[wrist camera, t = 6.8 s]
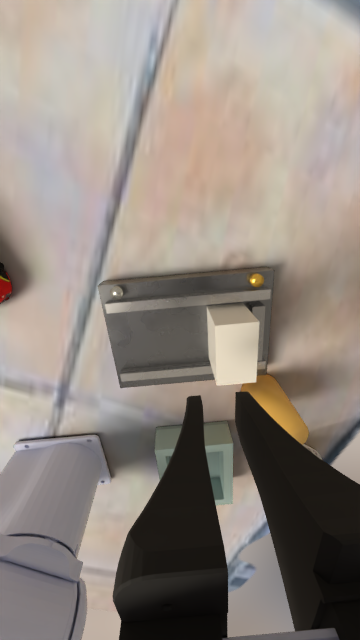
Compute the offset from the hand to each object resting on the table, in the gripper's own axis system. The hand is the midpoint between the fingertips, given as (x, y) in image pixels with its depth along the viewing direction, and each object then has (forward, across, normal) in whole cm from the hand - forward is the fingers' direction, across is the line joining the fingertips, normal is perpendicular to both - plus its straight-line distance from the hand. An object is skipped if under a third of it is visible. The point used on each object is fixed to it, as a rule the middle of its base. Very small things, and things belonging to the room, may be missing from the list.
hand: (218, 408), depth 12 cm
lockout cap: (+10, -6, +8) cm, 15 cm away
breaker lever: (+9, -2, 0) cm, 9 cm away
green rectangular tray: (+10, +1, +17) cm, 20 cm away
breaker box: (+10, +1, 0) cm, 10 cm away
